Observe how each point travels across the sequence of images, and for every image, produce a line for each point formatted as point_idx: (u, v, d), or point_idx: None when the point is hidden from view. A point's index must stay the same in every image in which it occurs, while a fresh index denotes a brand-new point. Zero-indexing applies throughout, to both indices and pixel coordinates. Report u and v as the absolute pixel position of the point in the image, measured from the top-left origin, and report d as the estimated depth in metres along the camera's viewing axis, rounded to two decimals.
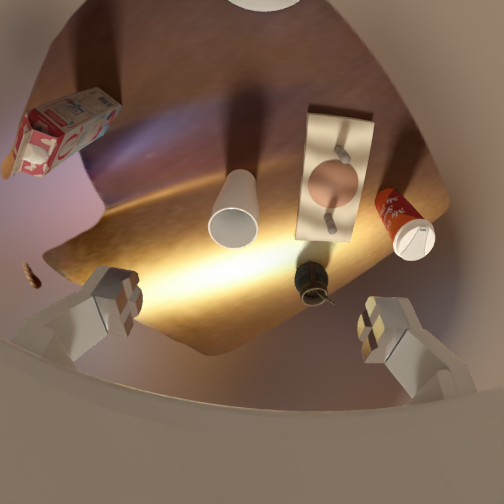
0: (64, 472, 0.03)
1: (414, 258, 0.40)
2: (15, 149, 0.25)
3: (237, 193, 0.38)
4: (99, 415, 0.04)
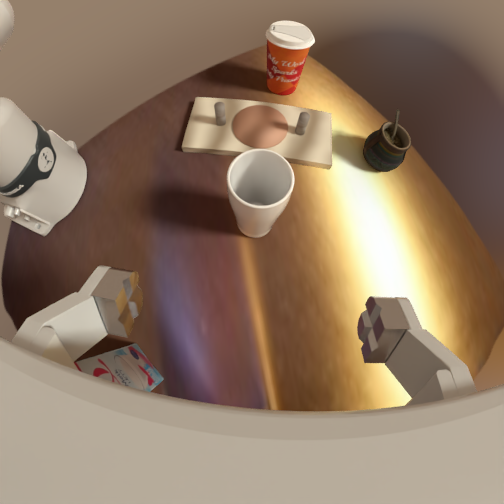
0: (65, 471, 0.03)
1: (308, 31, 0.33)
2: None
3: None
4: (99, 415, 0.04)
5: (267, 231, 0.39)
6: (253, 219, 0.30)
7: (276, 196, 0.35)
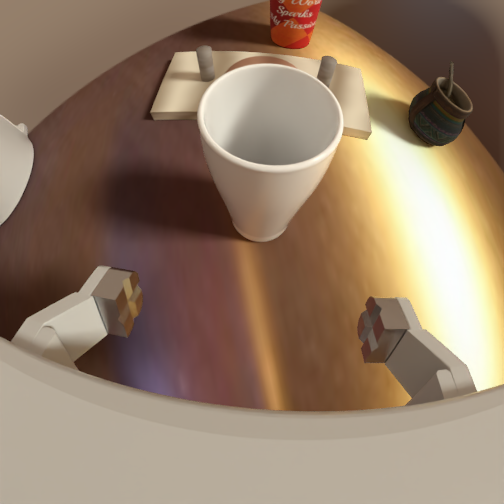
0: (65, 471, 0.03)
1: None
2: None
3: None
4: (99, 415, 0.04)
5: (281, 231, 0.24)
6: (258, 203, 0.14)
7: None
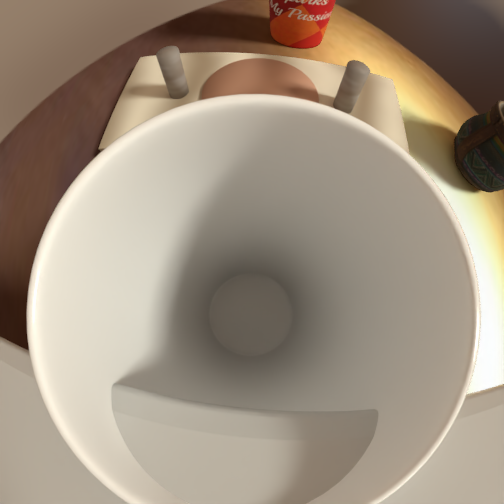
0: (64, 471, 0.03)
1: None
2: None
3: None
4: None
5: None
6: None
7: (312, 285, 0.11)
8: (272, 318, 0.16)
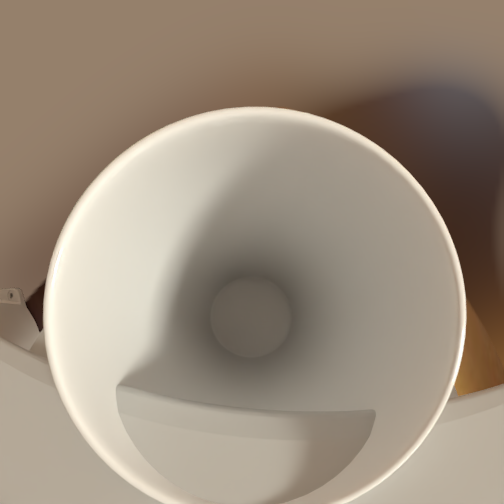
0: (64, 472, 0.03)
1: None
2: None
3: None
4: None
5: None
6: None
7: (311, 288, 0.12)
8: (272, 321, 0.16)
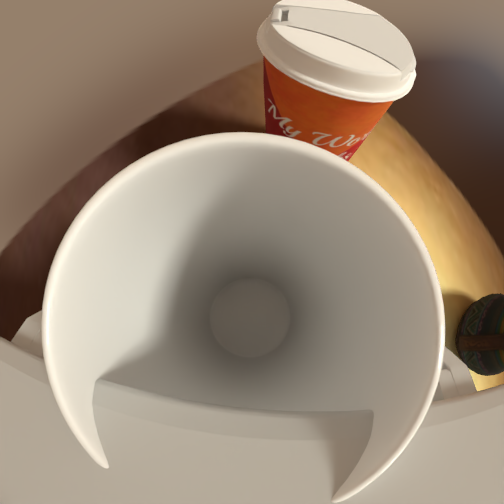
0: (64, 471, 0.03)
1: (399, 36, 0.09)
2: None
3: None
4: (99, 415, 0.04)
5: None
6: None
7: (307, 293, 0.12)
8: (270, 321, 0.16)
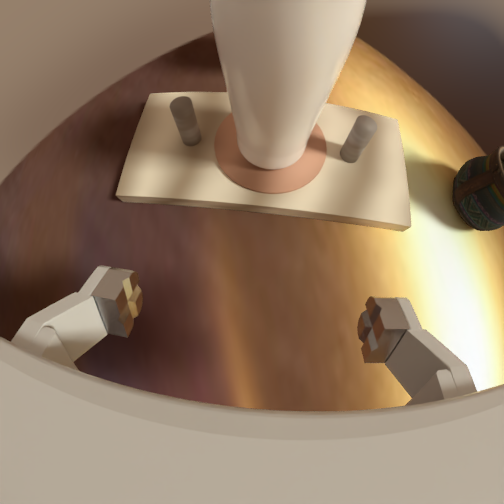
0: (64, 472, 0.03)
1: None
2: None
3: None
4: (99, 415, 0.04)
5: (297, 153, 0.19)
6: (275, 60, 0.09)
7: None
8: None
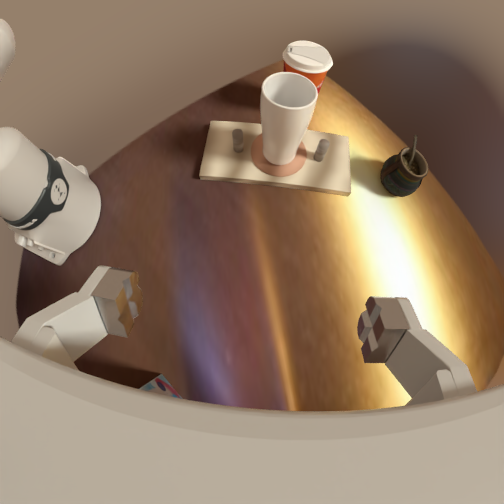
0: (65, 471, 0.03)
1: (326, 53, 0.34)
2: None
3: None
4: (99, 415, 0.04)
5: (291, 157, 0.41)
6: (283, 126, 0.31)
7: None
8: None
